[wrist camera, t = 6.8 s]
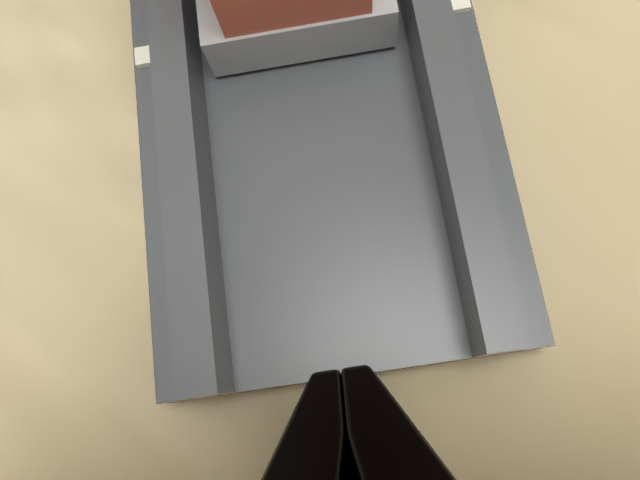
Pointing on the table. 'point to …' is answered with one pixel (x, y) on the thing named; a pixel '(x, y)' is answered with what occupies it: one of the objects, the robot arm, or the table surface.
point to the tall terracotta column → (291, 31)
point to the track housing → (327, 208)
